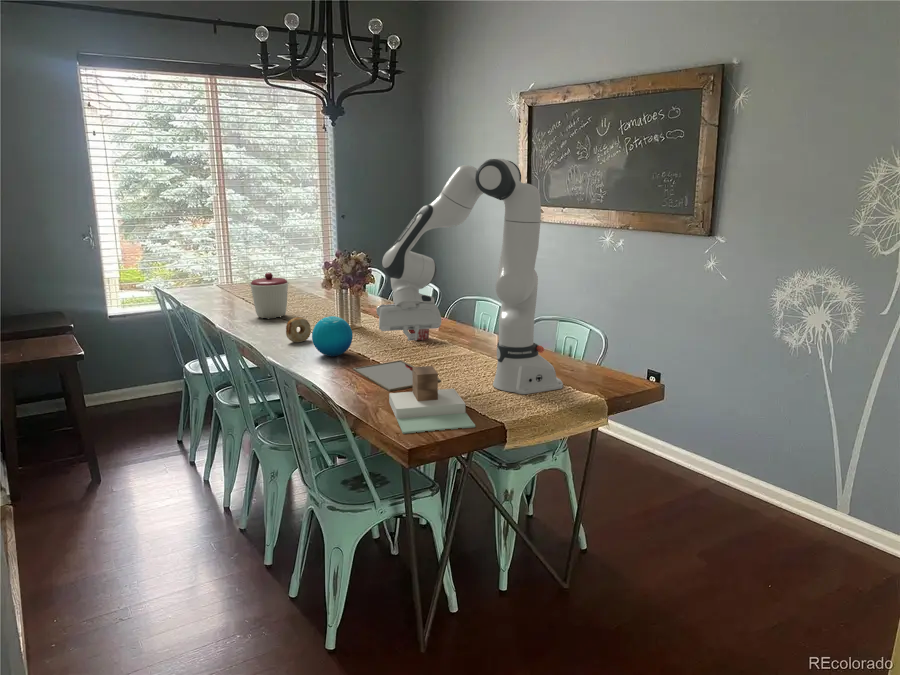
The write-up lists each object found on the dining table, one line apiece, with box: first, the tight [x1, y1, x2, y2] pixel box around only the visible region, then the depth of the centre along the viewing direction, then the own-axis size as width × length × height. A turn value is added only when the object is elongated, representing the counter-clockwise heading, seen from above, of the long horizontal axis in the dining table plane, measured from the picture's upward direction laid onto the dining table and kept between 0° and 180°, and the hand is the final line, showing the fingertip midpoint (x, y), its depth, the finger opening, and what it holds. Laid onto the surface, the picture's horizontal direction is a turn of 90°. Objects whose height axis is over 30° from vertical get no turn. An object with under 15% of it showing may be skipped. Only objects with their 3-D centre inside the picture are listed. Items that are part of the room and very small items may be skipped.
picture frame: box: [352, 359, 442, 392], centre depth 231 cm, size 19×1×28 cm
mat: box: [396, 412, 476, 435], centre depth 187 cm, size 20×10×1 cm, turn 103°
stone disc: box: [285, 316, 312, 343], centre depth 274 cm, size 10×4×10 cm, turn 131°
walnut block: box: [412, 365, 439, 401], centre depth 200 cm, size 6×8×8 cm
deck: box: [388, 388, 466, 420], centre depth 199 cm, size 20×14×3 cm
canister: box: [248, 272, 290, 319], centre depth 318 cm, size 18×18×21 cm
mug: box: [408, 329, 430, 341], centre depth 277 cm, size 13×9×14 cm
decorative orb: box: [311, 315, 353, 357], centre depth 253 cm, size 15×15×15 cm
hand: (412, 339), depth 216 cm, fingers closed
